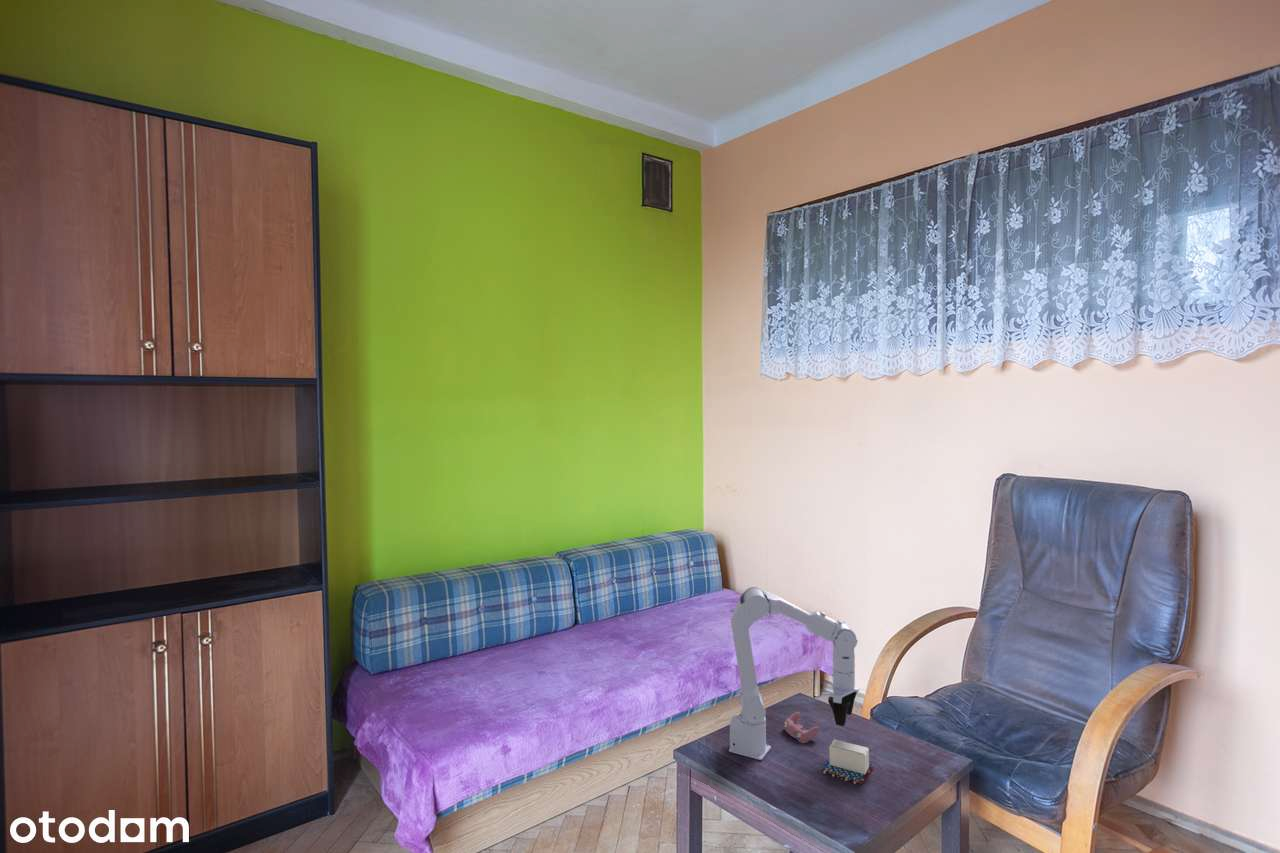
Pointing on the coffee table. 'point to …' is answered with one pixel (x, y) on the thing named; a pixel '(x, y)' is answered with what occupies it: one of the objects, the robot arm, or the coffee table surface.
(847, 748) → the painted block
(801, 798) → the coffee table surface
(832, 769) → the woven mat
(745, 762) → the coffee table surface
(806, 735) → the pink curved figurine
